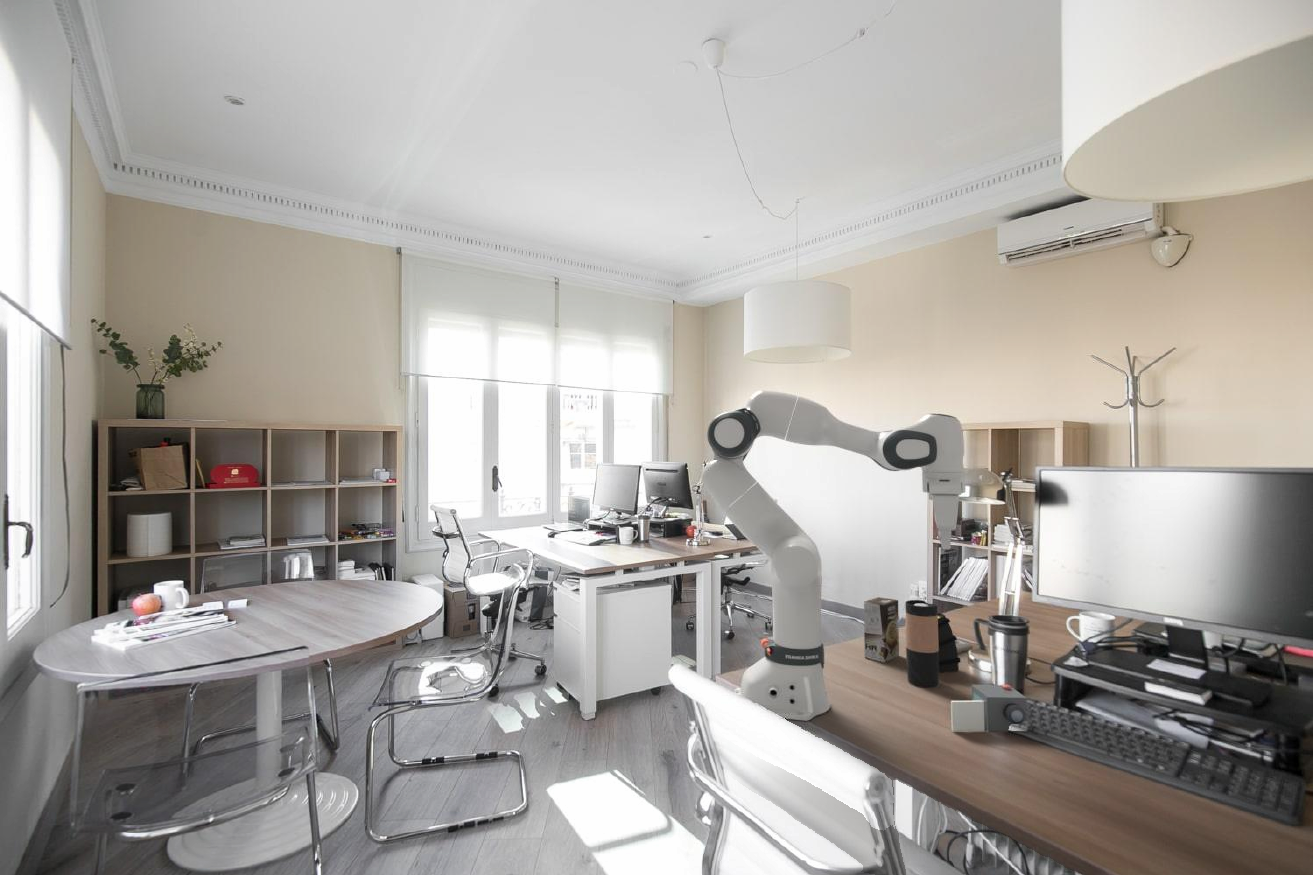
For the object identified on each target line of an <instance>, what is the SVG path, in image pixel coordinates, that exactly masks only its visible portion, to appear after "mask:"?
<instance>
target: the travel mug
mask: <svg viewBox="0 0 1313 875" xmlns="http://www.w3.org/2000/svg"><path fill="white" fill-rule="evenodd" d="M938 613H939V612H938V603H936V602H933V603H928V602H927V601H925V600H921V599H909V600H907V601H905V649H906V650H905V654H906V669H907V672H906V673H907V682H908V683H909V684H910V683H911V685H912V684H913V686H916V687H920V688H924V689H925V688H926V689H931V688H932V689H933V688H936V687H938V686H939V673H940V672H939V642H938V615H937V614H938Z"/></svg>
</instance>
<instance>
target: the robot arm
mask: <svg viewBox="0 0 1313 875" xmlns="http://www.w3.org/2000/svg"><path fill="white" fill-rule="evenodd" d="M963 432H964V431H963V428H962V424H961V421H960V420H959V419H958V418H957V417H955V416H953V415H949V414H942V413H927V414H925V415H923V417H921V418H920V419H918V420H916V421H914V422H912V423H910V424H908V425H906V426H903V427H900V428H897V429H895V430H886V431H885V430H884V431H874V430H870V429H867V428H863V427H860V426H857V425H853V424H850V423H847V422H844V421H842V420H841V419H838V418H837V417H836V416H834V415H833V414H832V413H831V412H830V411H829V410H828V408H827V407H826V406H824V405H822V404H820V403H818V402H816V401H814V400H811V399H809V398H805V397H803V396H798V395H795V394H791V393H786V392H779V391H775V390H774V391H773V390H757V391H756V392H755V393H753V394H752V395H751V397H750V398H749V399H748V401H747V403H746V405H745V407H741V408H737V409H733V410H728V411H724V412H722V413H719V414H718V415H716V416H715V417H714V418H713V419H712V420H711V422H710V423H709V425H708V428H707V433H706V434H707V437H706V438H707V441H708V445H709V446H710V447H711V449H712V452H713V456H712V459H711V460H710V461H709V462H708V463H707V464H706V465H705V467H704V468H703V470H702V473H701V476H700V478H701V482H702V485H703V487H704V488H705V490H706V492H707V493H708V494H709V496H710V497H711V499H712V500H713V502H714V503H715V504H716V506H717V507H718V508H719V509H720V510H721V511H722V512H723V514H724V515H725V517H726V518H728V519H729V521H730V522H731V523H732V524H733V525H734V526H735V528H737V530H738V531H739V532H740V533H741V534H742V536H743V537H745V538H746V539H747V540H748V541H749V542H750V543H751V544H752V545H754V546H755V547H756V548H757V549H758V550H759V551H760V552H761V553H762V554H763V555H764V556H765V557H766V558H767V559H768V561H770V563H771V564H770V565H771V592H772V593H771V594H772V596H771V597H772V639H771V640H770V641H769V640H768V638H762V640H761V641H760V645H761V647H762V648H763V649H764V657H762V658H761V659H759V660H758V661H756V662H755V663H754V664H752V665H751V666H749V667H748V668H746V670H745V671H744V673H743V675H742V679H741V683H740V687H736V688H735V689H734V690H733V691H734V692H735V693H736V694H738V695H740V696H744V697H745V698H747V699H749V700H751V701H752V702H753V703H758V704H759V705H761V706H763V707H765V708H766V709H767V710H770V711H772V712H774V713H775V714H778V715H779V716H781V717H784V718H786V720H795V721H810V720H812V719H813V718H814V717H816V716H818V715H822V714H824V713H826V712H827V711H829V710H830V708H831V704H830V701H829V697H828V694H827V688H826V682H825V677H824V667H825V648H824V647H825V646H824V644H823V642H822V558H821V554H820V551H819V550H818V546H817V545H816V543H815V542H814V540H813V539H812V538H811V537H810V536H809V534H807V533H806V532H805V531H804V530H803V529H802V528H801V527H800V525H799V524H798V523H796V522H797V521H796V522H795V520H794V519H793V518H792V517H791V516H790V515H789V514H788V513H787V512H786V511H785V510H784V509H783V508H782V507H781V506H780V505H779V504H778V503H777V502H776V500H775V499H774V498H773V497H772V496H771V495H770V494H769V492H767V491H766V490H765V488H763V487H762V485H761V484H760V483H759V482H758V481H757V480H756V479H755V478H754V477H753V476H752V474H751V473H750V472H749V471H748V469H747V467H746V466H745V464H744V460H745V459H746V457H747V456H748V454H749V453H750V450H751V449H752V448H753V445H754V442H755V441H756V439H758V438H760V437H771V438H773V437H774V438H777V439H779V440H783V441H786V442H789V443H793V444H799V445H805V446H828V447H830V446H831V447H836V448H840V449H843V450H846V451H850V452H853V453H856V454H860V455H862V456H866V457H867V458H870V459H871V460H873V462H874V463H875V464H877V465H878V466H880V467H881V468H882V469H885V470H887V471H889V472H900V471H910V470H913V469H916V468H921V470H922V474H921V476H922V479H921V480H922V484H921V485H922V492H923V493H927V494H928V500H930V501H932V504H933V511H934V512H933V513H934V520H935V524H936V528H937V530H938V531H939V532H938V534H939V542H940V544H941V548H942V549H943V550H950V549H951V545H952V543H951V540H952V531H954V530H956V528H957V524H958V523H957V522H958V515H959V514H958V513H959V512H958V510H959V502H960V496H961V495H962V494H964V493H966V470H965V467H964V463H963V460H964V456H965V439H964V433H963ZM784 718H783V719H784Z"/></svg>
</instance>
